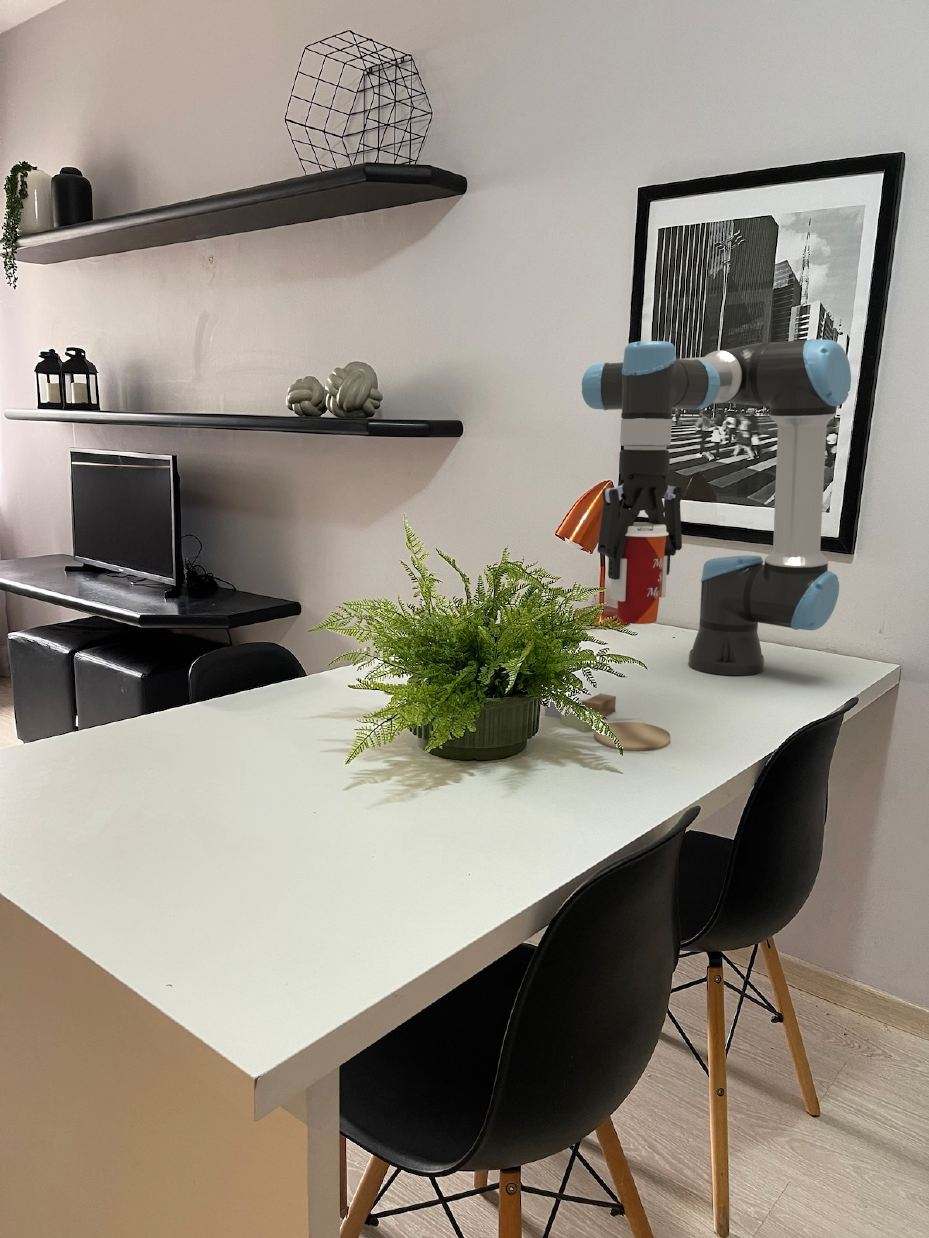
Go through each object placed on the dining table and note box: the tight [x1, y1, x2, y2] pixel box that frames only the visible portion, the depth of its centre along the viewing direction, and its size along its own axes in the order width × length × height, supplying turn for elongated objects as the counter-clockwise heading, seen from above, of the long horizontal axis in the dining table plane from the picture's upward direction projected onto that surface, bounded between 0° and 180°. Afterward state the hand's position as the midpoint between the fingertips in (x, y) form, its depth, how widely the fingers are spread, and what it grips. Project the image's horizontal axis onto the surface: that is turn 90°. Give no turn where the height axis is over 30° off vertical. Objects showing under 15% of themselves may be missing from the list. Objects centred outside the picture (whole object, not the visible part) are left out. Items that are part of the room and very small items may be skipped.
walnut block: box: [584, 692, 617, 718], centre depth 164 cm, size 6×3×3 cm, turn 144°
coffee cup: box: [616, 521, 669, 625], centre depth 146 cm, size 8×8×15 cm
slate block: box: [544, 699, 585, 719], centre depth 163 cm, size 6×3×3 cm, turn 64°
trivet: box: [593, 721, 671, 752], centre depth 151 cm, size 12×12×1 cm
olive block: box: [560, 712, 595, 734], centre depth 157 cm, size 6×3×3 cm, turn 34°
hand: (638, 597), depth 147 cm, fingers closed on coffee cup, 7 cm apart
